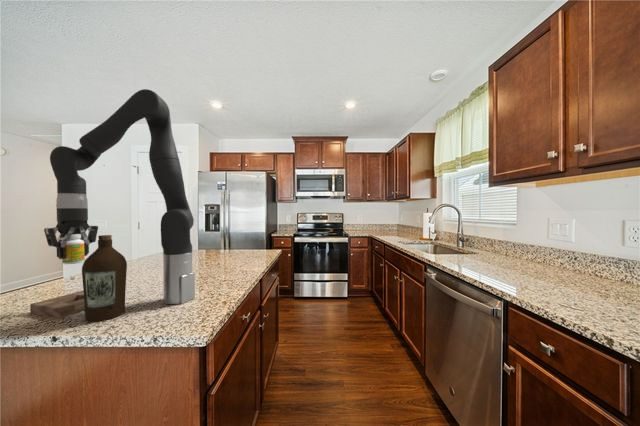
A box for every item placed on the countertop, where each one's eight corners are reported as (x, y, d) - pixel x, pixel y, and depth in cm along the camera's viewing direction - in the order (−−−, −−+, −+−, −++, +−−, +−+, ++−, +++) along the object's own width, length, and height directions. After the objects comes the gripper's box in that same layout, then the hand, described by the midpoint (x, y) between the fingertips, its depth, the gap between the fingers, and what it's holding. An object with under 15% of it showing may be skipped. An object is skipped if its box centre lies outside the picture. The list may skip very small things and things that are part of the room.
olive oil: (90, 312, 80) (90, 234, 80) (131, 306, 84) (130, 233, 84) (75, 325, 70) (74, 237, 70) (121, 318, 75) (120, 236, 75)
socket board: (110, 302, 89) (110, 293, 89) (60, 318, 75) (60, 308, 75) (82, 298, 93) (82, 290, 93) (30, 313, 79) (30, 304, 79)
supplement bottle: (70, 264, 81) (69, 235, 81) (57, 264, 82) (57, 235, 82) (88, 261, 86) (88, 233, 86) (76, 261, 88) (76, 233, 88)
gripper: (52, 206, 76) (53, 261, 76) (104, 207, 90) (105, 254, 90) (36, 207, 78) (37, 260, 78) (89, 207, 92) (90, 253, 92)
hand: (73, 256), depth 84 cm, fingers closed on supplement bottle, 5 cm apart
